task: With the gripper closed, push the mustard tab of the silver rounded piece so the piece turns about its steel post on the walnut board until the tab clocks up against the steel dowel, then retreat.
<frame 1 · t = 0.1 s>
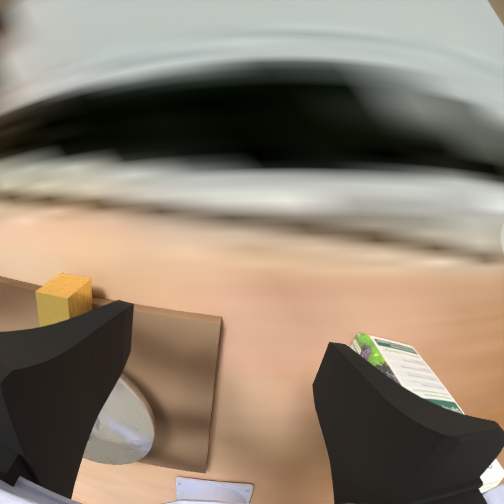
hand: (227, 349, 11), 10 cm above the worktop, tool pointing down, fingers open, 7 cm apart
syrup box: (369, 367, 24), on the worktop
silver rounded piece: (77, 388, 20), point 3 cm above the worktop, hinge at 0.0°
post board: (95, 385, 23), on the worktop
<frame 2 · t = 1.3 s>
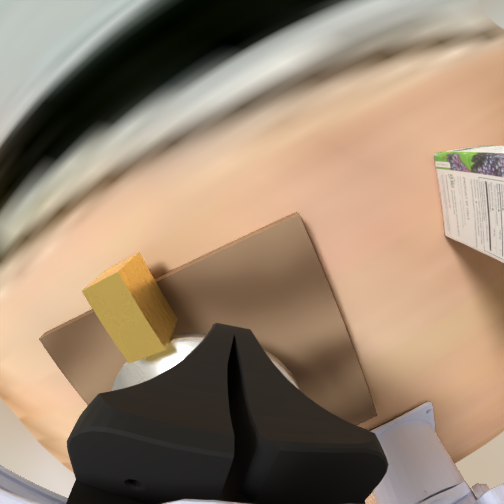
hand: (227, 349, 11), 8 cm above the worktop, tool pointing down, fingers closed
syrup box: (466, 189, 18), on the worktop
silver rounded piece: (188, 390, 18), point 3 cm above the worktop, hinge at 0.0°
post board: (210, 384, 21), on the worktop
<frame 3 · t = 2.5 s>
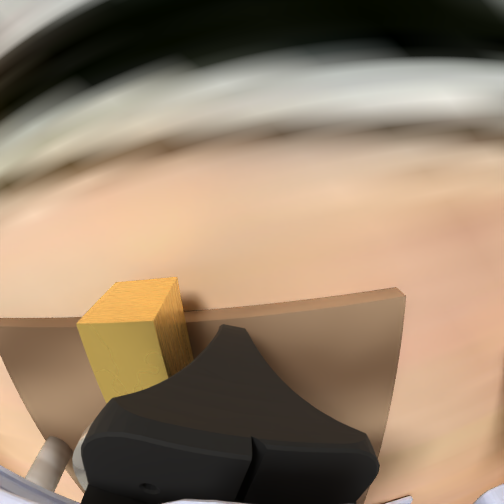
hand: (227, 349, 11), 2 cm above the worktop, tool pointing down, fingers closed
silver rounded piece: (184, 466, 12), point 3 cm above the worktop, hinge at 0.0°, touching gripper
post board: (200, 446, 15), on the worktop
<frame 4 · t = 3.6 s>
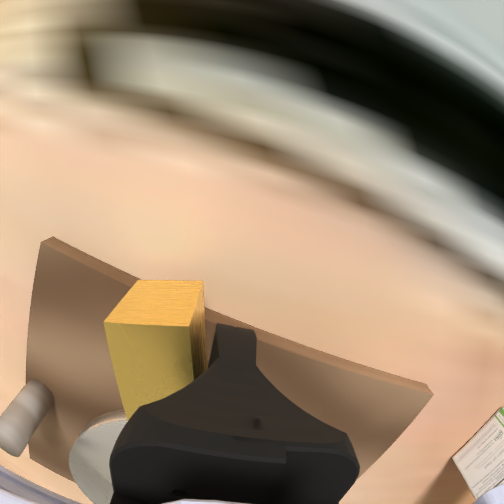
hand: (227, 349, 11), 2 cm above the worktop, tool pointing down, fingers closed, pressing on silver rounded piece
syrup box: (485, 437, 17), on the worktop
silver rounded piece: (184, 467, 12), point 3 cm above the worktop, hinge at 24.1°, touching gripper
post board: (196, 447, 15), on the worktop
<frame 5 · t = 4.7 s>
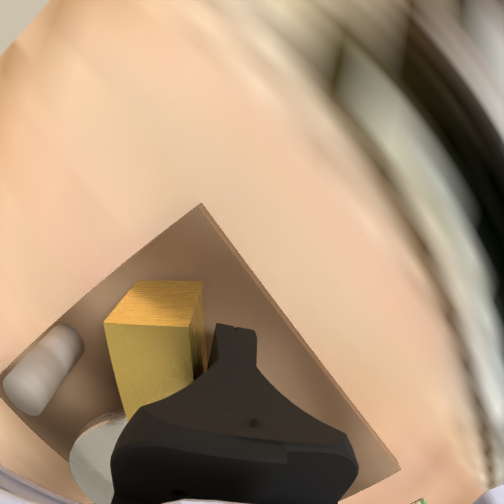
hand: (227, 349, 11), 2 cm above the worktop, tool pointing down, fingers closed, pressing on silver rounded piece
silver rounded piece: (184, 467, 12), point 3 cm above the worktop, hinge at 54.3°, touching gripper
post board: (196, 447, 15), on the worktop
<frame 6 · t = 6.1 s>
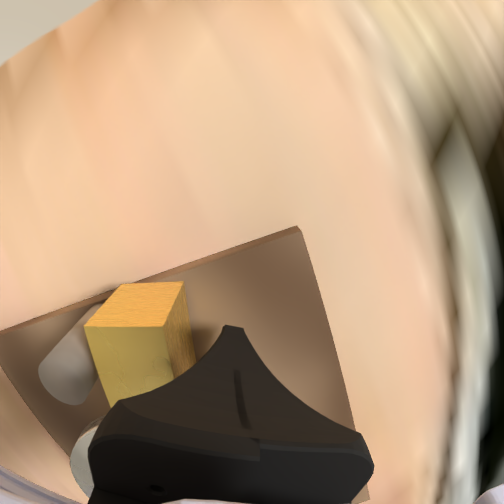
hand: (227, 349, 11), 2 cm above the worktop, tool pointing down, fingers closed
silver rounded piece: (182, 467, 12), point 3 cm above the worktop, hinge at 74.0°, touching gripper
post board: (197, 447, 15), on the worktop
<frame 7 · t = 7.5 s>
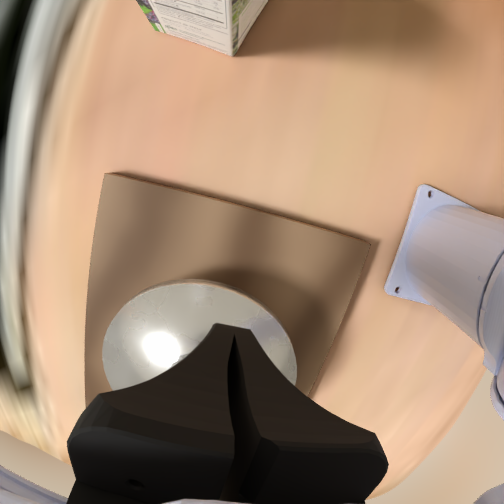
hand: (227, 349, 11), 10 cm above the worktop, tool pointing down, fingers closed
syrup box: (215, 12, 16), on the worktop
silver rounded piece: (182, 392, 19), point 3 cm above the worktop, hinge at 74.1°
post board: (202, 344, 22), on the worktop
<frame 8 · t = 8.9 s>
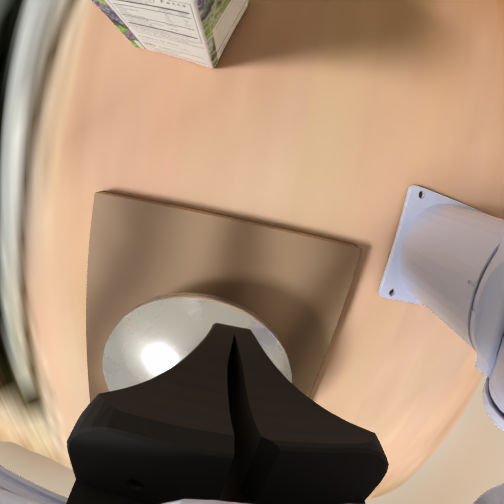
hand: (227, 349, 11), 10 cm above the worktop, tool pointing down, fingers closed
syrup box: (194, 24, 17), on the worktop
silver rounded piece: (182, 401, 20), point 3 cm above the worktop, hinge at 74.1°
post board: (200, 353, 22), on the worktop
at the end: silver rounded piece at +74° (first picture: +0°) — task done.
